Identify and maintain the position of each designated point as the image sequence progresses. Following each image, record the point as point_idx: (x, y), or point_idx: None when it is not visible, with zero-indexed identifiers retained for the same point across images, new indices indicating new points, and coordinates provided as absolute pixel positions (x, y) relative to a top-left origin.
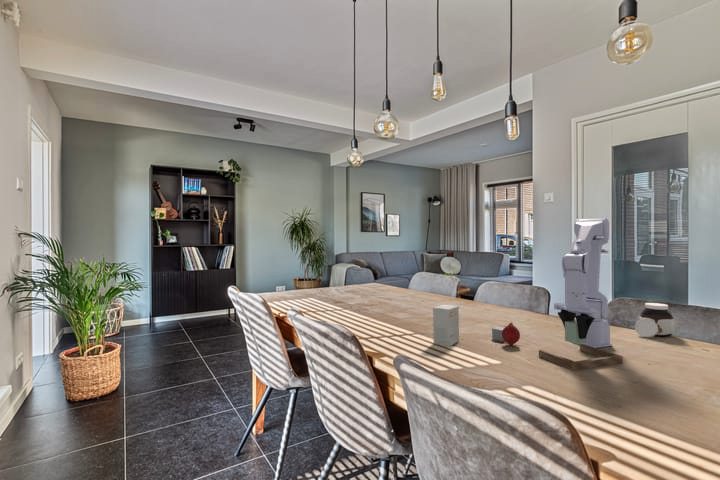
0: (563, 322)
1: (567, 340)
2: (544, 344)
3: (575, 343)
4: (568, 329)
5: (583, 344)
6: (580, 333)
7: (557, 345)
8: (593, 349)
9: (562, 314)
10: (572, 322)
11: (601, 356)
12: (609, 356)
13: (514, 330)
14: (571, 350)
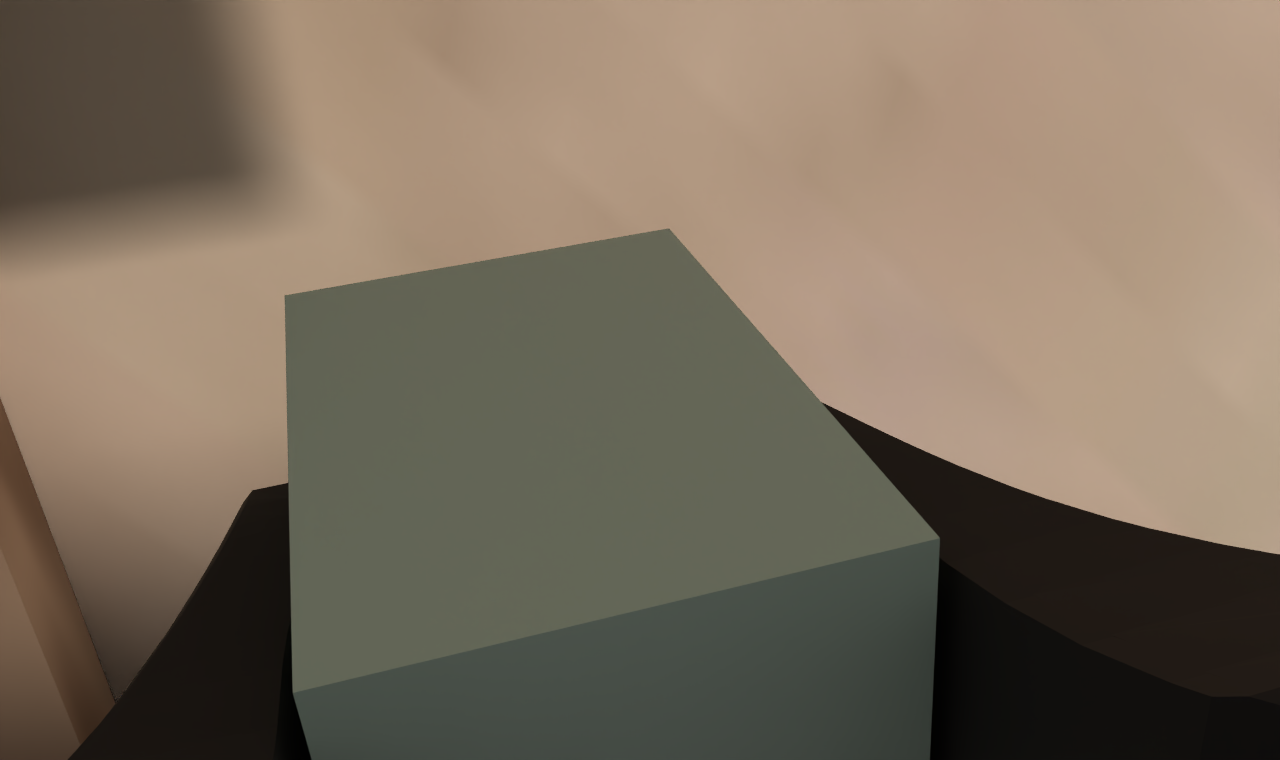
0: (1024, 522)
1: (594, 252)
2: (1277, 266)
3: (312, 293)
4: (648, 416)
5: None
6: (213, 569)
7: (1137, 443)
8: None
9: (1244, 682)
10: (671, 731)
11: None
12: (57, 744)
13: None
14: None
